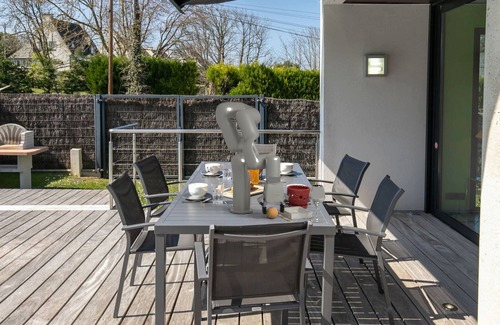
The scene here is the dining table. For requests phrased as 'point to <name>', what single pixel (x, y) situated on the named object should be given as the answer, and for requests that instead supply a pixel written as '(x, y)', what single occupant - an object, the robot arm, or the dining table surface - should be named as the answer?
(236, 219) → the dining table surface
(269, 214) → the ball
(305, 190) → the plant pot
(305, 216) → the tray
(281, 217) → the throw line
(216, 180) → the dining table surface
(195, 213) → the dining table surface
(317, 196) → the wineglass
